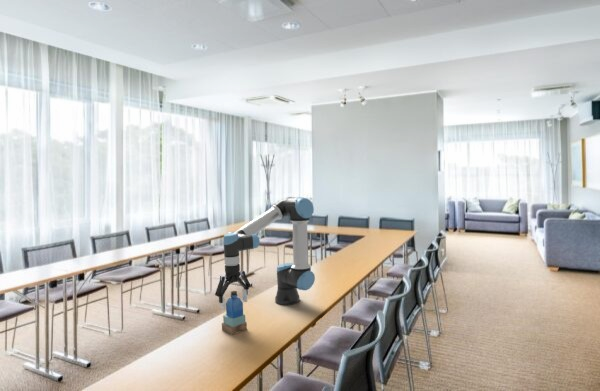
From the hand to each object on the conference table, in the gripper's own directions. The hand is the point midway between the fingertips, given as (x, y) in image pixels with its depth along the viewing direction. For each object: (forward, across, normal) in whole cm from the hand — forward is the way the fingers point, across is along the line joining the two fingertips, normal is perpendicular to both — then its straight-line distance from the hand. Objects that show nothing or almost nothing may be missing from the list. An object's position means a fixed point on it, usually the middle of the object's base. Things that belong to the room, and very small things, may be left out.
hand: (234, 305), depth 187 cm
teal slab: (+9, 0, 0) cm, 9 cm away
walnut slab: (+13, 0, 0) cm, 13 cm away
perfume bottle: (+5, 0, 0) cm, 5 cm away
